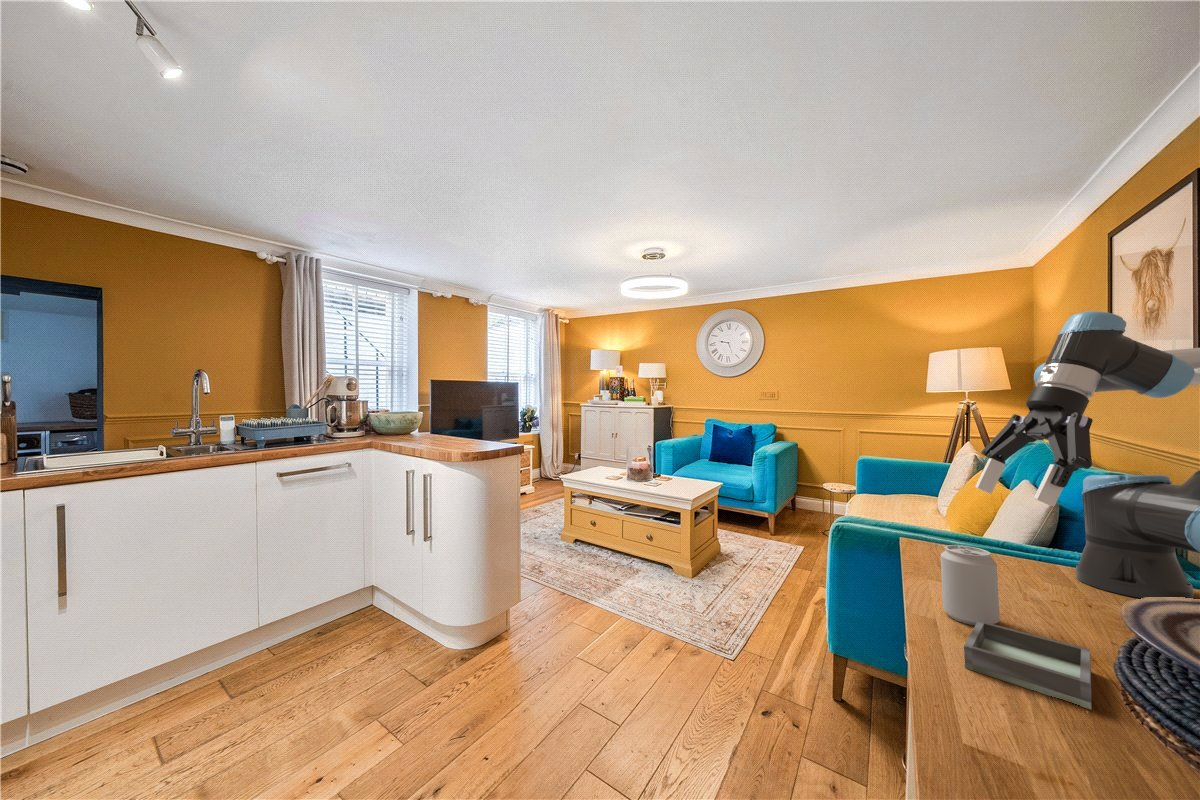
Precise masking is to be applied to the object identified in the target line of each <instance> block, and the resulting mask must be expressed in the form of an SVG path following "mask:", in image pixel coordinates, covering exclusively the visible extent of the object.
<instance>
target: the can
mask: <svg viewBox="0 0 1200 800" xmlns="http://www.w3.org/2000/svg"><path fill="white" fill-rule="evenodd" d="M944 549H945V550H944V551H942V552H941V553H940V568H941V569H940V571H941V572H940V573H941V595H942V609H943V610H944V612H946V613H947V614H948V616H950V618H952V619H953V620H955V621H957V622H960V623H962V624H966V625H969V626H970V625H971V626H973V627H975V625H976V623H977V621H978V620H979V621H983V622H987V623H991V624H994V625H997V624H998V623H999V622H1000V599H999V597H1000V596H999V579H998V577H999V576H998V564H997V562H996V560H994V559H993V557H991V556H992V553H991V552H990V551H988V550H987V549H986V550H985V549H983V548H979V547H975V546H969V545H961V544H960V545H959V544H950V545H945V546H944Z"/></svg>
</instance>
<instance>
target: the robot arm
mask: <svg viewBox="0 0 1200 800" xmlns="http://www.w3.org/2000/svg"><path fill="white" fill-rule="evenodd" d="M1126 327H1127V322H1126V321H1125V319H1124V318H1123V317H1122V316H1120V315H1117V314H1115V313H1112V312H1111V313H1110V312H1107V311H1098V310H1096V311H1095V310H1094V311H1093V310H1092V311H1090V310H1089V311H1082V312H1078V313H1075V314H1073V315H1071V316H1070V317H1068V318H1067V320H1066V322H1065V323H1064V325H1063V327H1061V329H1060V331H1059V333H1058V334H1057V337H1056V340H1055V342H1054V344H1053V346H1052V347H1051V351H1050V353H1049V355H1048V356H1047V359H1046V361H1045V362H1043V363H1042V364H1040V365H1039V366H1037V368H1036V369H1035V371H1034V374H1033V381H1034V385H1035V386H1036V387H1034V388H1032V390H1031V392H1030V394H1029V396H1028V398H1027V400H1026V402H1025V406H1026V408H1028V410H1029V412H1028V414H1027V415H1026V416H1021V415H1018V414H1016V413H1014V414H1012V416H1011V417H1010V418H1009V420H1008V422H1007V424H1006V425H1005V426H1004V427H1003V428H1002V429H1001V430H1000V431H999V432H998V433H997V434H996V435H995V437H994V438H993V439H992V440H990V442H989V443H988V444H987V445H986V446H985V447H984V448H983V449H982V451H981V453H980V454H981V455H982V456H985V457H986V458H987V460H986V463H985V464H984V466H983V468H982V471H981V474H980V476H979V478H978V480H977V482H976V483H975V486H974V488H976V489H978V490H981V491H982V492H985V493H987V494H991V495H992V493H993V492H994V490H995V488H996V486H997V483H998V482H999V480H1000V478H1001V475H1002V473H1003V471H1004V469H1005V467H1006V465H1007V463H1006V460H1008V459H1010V457H1012V456H1013V455H1015V454H1016V453H1017V452H1018V451H1020V450H1021V449H1023V448H1024V447H1025V446H1026V445H1028V444H1029V443H1030V444H1031V443H1034V442H1037V441H1044V440H1046V441H1047V442H1048V444H1049V446H1050V448H1051V452H1052V455H1053V458H1054V459H1053V460H1052V461H1051V463H1050V464H1049V466H1048V468H1047V470H1046V471H1045V474H1044V476H1043V477H1042V478H1043V479H1042V480H1041V482H1040V485H1039V486H1038V488H1037V490H1036V492H1035V494H1034V497H1033V499H1034V500H1036V501H1038V502H1040V503H1043V504H1045V505H1047V506H1050V507H1055V506H1056V503H1057V502H1058V499H1059V498H1060V496H1061V493H1062V491H1063V489H1064V488H1065V487H1067V485H1068V484H1069V481H1070V479H1071V478H1072V475H1073V473H1074V472H1077V471H1078V470H1079V469H1085V470H1088V469H1090V468H1091V467H1092V465H1093V464H1092V449H1091V434H1090V430H1091V426H1092V423H1093V422H1094V420H1093V418H1091V417H1088V416H1086V415H1084V414H1085V412H1086V409H1087V408H1088V405H1089V403H1090V400H1089V399H1091V398H1092V397H1093V396H1094V394H1095V393H1099V392H1100V393H1101V392H1116V391H1134V392H1136V393H1137V394H1138V395H1144V396H1147V397H1151V398H1155V399H1162V398H1168V397H1172V396H1174V395H1176V394H1178V393H1181V392H1182V391H1183V390H1186V388H1187V387H1188V386H1196V385H1197V386H1198V385H1200V347H1193V348H1181V349H1167V350H1160V349H1158V348H1155V347H1153V346H1150V345H1147V344H1145V343H1142V342H1141V341H1140V342H1139V341H1137V340H1134V339H1132V338H1131V337H1128V336H1126V335H1124V333H1125V332H1126ZM1052 463H1053V464H1052ZM1081 495H1082V507H1083V516H1084V529H1085V530H1084V531H1085V545H1084V548H1083V550H1082V553H1081V555H1080V559H1079V562H1078V563H1077V565H1076V566H1075V579H1077V580H1078V581H1080V582H1082V583H1083V584H1085V585H1089V586H1091V587H1093V588H1097V589H1100V590H1103V591H1108V592H1111V593H1116V594H1118V595H1123V596H1128V597H1133V598H1139V599H1144V598H1143V597H1185V598H1194V599H1195V593H1194V587H1193V585H1192V583H1190V582H1189V580H1188V577H1187V575H1186V573H1185V570H1184V569H1183V567H1182V565H1181V564H1180V563H1181V562H1179V559H1178V558H1177V555H1176V554H1177V553H1176V549H1180V550H1185V551H1187V552H1188V551H1189V552H1193V553H1196V554H1200V469H1198V470H1197V471H1196V472H1194V473H1193V475H1192V476H1190V477H1189V478H1188V479H1187V480H1186V481H1184V483H1182V484H1173V481H1172V480H1171V479H1170V477H1169V476H1168V475H1164V474H1163V475H1162V474H1161V475H1159V474H1158V475H1157V474H1119V475H1118V474H1092V475H1088V476H1086V477H1085V478H1083V481H1082V491H1081Z"/></svg>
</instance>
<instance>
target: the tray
mask: <svg viewBox="0 0 1200 800" xmlns="http://www.w3.org/2000/svg"><path fill="white" fill-rule="evenodd" d="M963 652H964V653H963V654H964V655H963V656H964V668H965V669H967V670H971V671H974V672H976V673H979V674H983V675H985V676H987V677H991V678H994V679H997V680H1001V681H1004V682H1006V683H1009V684H1013V685H1015V686H1019V687H1022V688H1025V689H1028V690H1031V691H1033V690H1034V691H1033V692H1036V691H1037V693H1040V694H1041V695H1046V696H1049V697H1051V696H1052V698H1054V697H1056V698H1055V699H1057V698H1060V699H1065V700H1068V701H1070V702H1072V703H1074V704H1073V705H1075V704H1077V705H1076V706H1078V705H1080V706H1079V707H1081V708H1084V709H1088V710H1091V711H1092V664H1091V650H1090V648H1087V647H1086V648H1085V647H1082V646H1078V645H1075V644H1074V645H1073V644H1070V643H1066V642H1062V641H1059V640H1055V639H1052V638H1049V637H1048V638H1047V637H1044V636H1041V635H1040V636H1039V635H1036V634H1032V633H1028V632H1025V631H1021V630H1016V629H1014V628H1009V627H1005V626H1001V625H999V624H991V623H987V622H983V621H979V620H978V621H977V623H976V625H975V626H973V628H972V631H971V633H970V634H969V636H968V638H967V640H966V641H965V644H964V645H963ZM1060 699H1059V700H1060ZM1072 703H1071V704H1072Z"/></svg>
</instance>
